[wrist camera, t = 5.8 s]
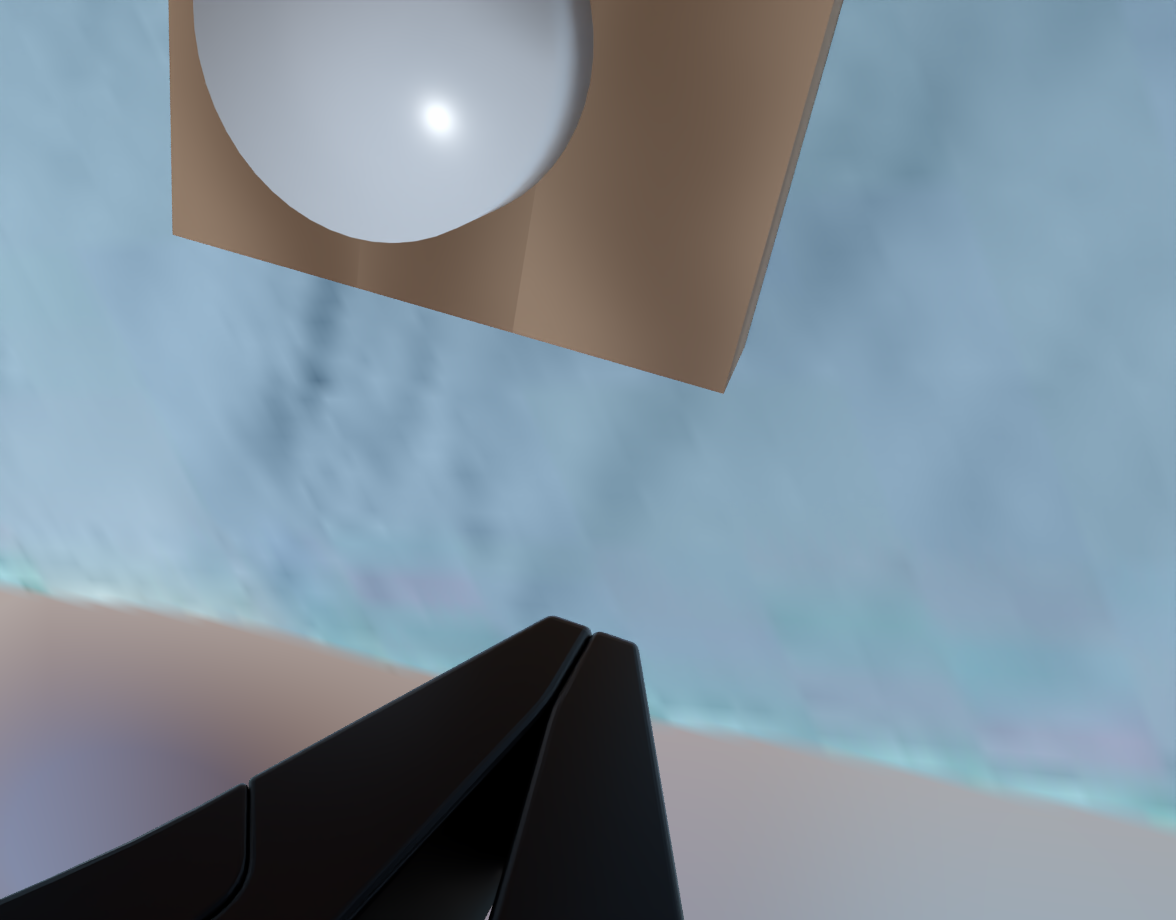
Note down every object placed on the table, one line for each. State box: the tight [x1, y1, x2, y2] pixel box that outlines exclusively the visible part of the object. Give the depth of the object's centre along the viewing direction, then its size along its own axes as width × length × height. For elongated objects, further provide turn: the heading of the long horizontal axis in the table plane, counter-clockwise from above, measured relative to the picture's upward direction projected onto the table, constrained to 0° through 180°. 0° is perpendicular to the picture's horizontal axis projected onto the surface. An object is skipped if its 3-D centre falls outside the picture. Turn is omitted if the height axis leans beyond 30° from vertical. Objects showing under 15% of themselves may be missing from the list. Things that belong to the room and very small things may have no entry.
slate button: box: [193, 0, 593, 243], centre depth 15 cm, size 6×6×5 cm
